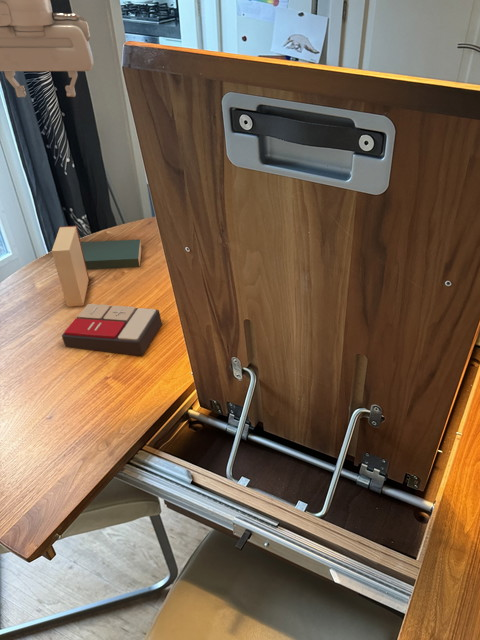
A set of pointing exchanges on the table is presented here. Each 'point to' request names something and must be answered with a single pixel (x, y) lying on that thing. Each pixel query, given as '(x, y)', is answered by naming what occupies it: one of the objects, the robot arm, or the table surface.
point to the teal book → (112, 254)
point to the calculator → (113, 329)
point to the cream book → (71, 265)
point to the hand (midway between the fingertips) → (47, 96)
